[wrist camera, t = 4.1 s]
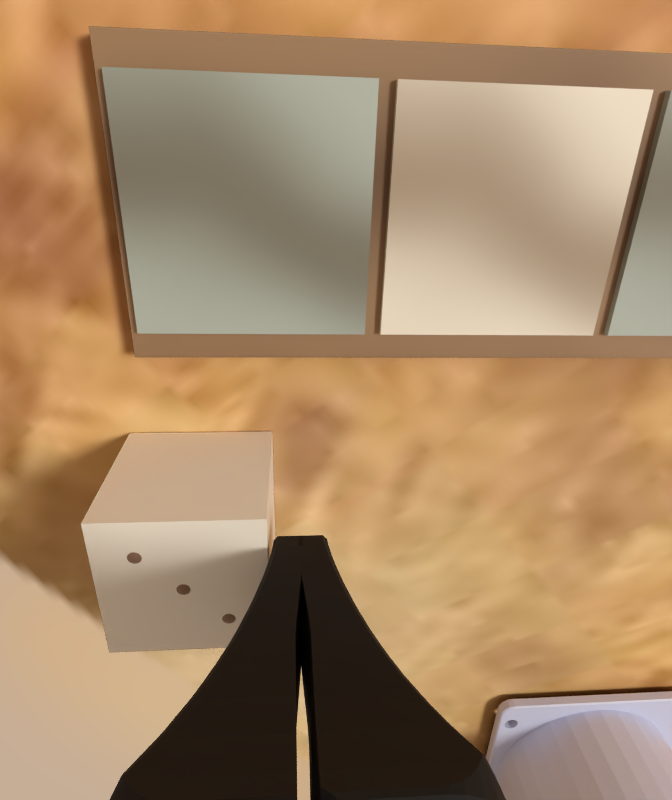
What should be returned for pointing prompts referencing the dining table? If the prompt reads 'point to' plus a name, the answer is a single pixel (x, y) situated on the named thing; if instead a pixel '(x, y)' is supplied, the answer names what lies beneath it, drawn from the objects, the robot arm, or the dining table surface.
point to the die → (181, 538)
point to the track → (388, 196)
